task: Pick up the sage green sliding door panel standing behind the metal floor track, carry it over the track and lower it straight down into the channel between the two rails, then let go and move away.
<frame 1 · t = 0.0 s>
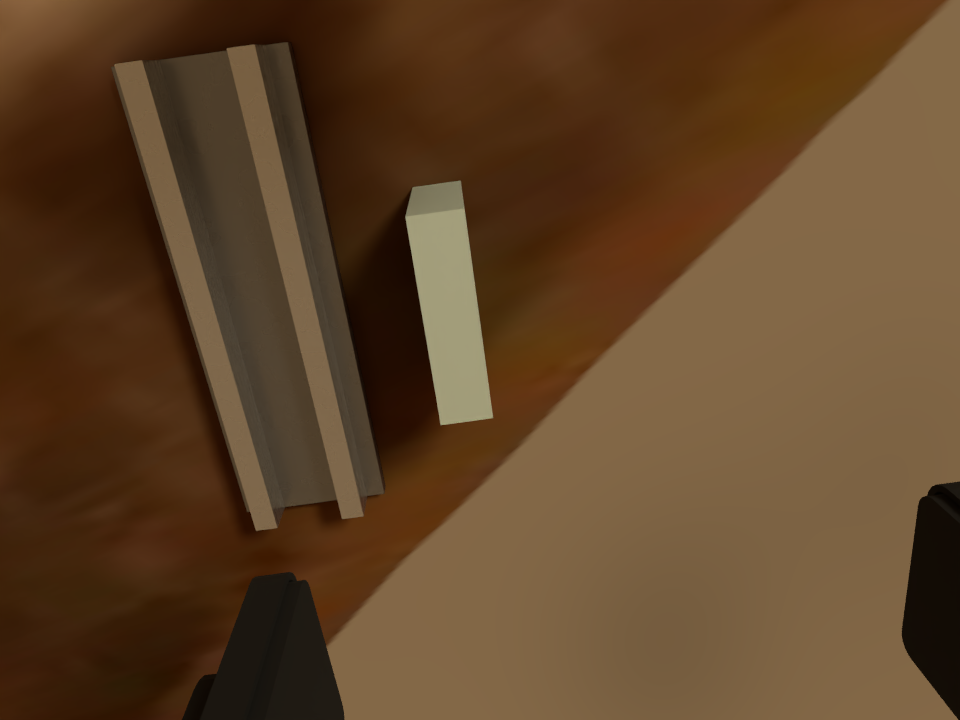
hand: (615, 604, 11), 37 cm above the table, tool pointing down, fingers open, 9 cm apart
door panel: (450, 276, 47), on the table
floor track: (268, 302, 47), on the table
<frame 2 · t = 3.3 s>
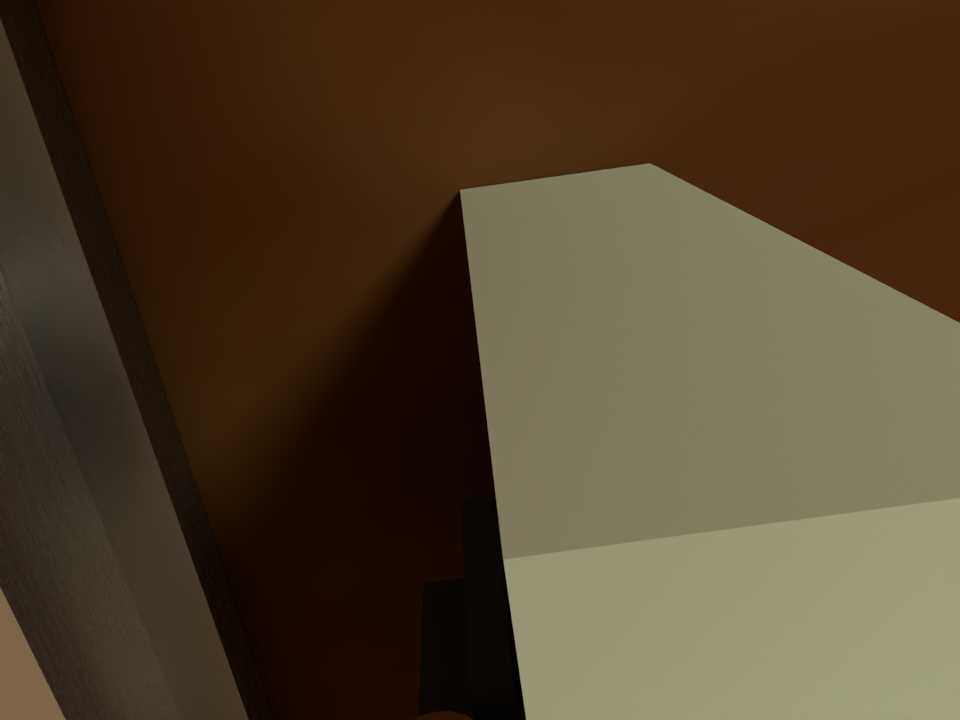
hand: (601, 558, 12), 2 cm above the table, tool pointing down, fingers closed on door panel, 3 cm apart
door panel: (582, 497, 14), on the table, touching gripper
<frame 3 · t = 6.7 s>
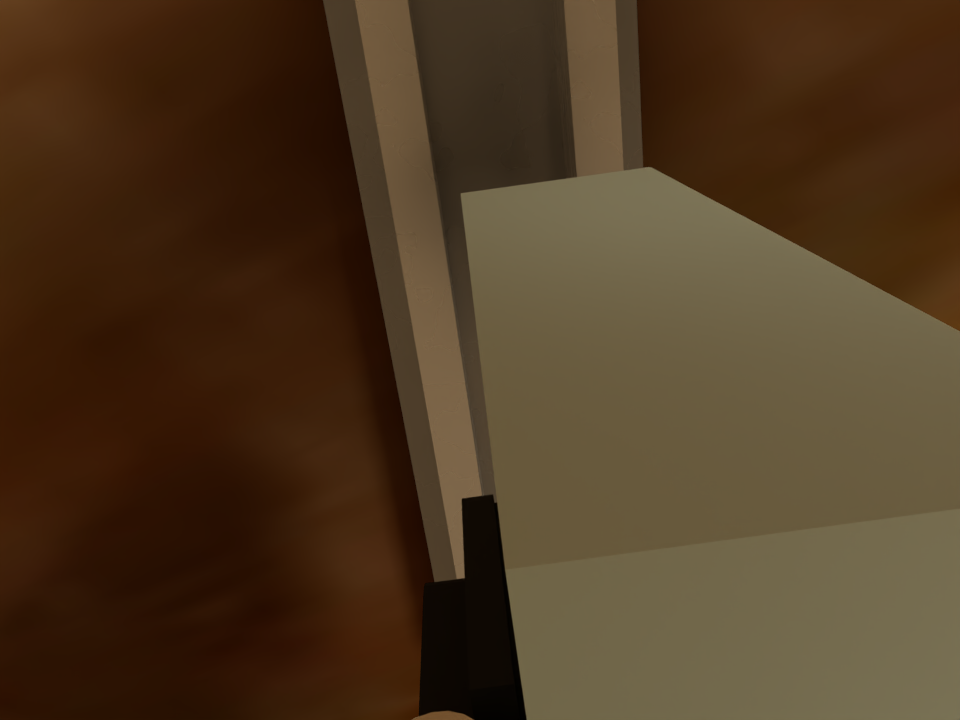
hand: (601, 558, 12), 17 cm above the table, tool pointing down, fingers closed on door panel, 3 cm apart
door panel: (583, 500, 14), point 15 cm above the table, touching gripper
floor track: (511, 275, 28), on the table
when the fingers open (4 cm above the table, at t = 9.9 s): door panel drops 1 cm, resting on floor track.
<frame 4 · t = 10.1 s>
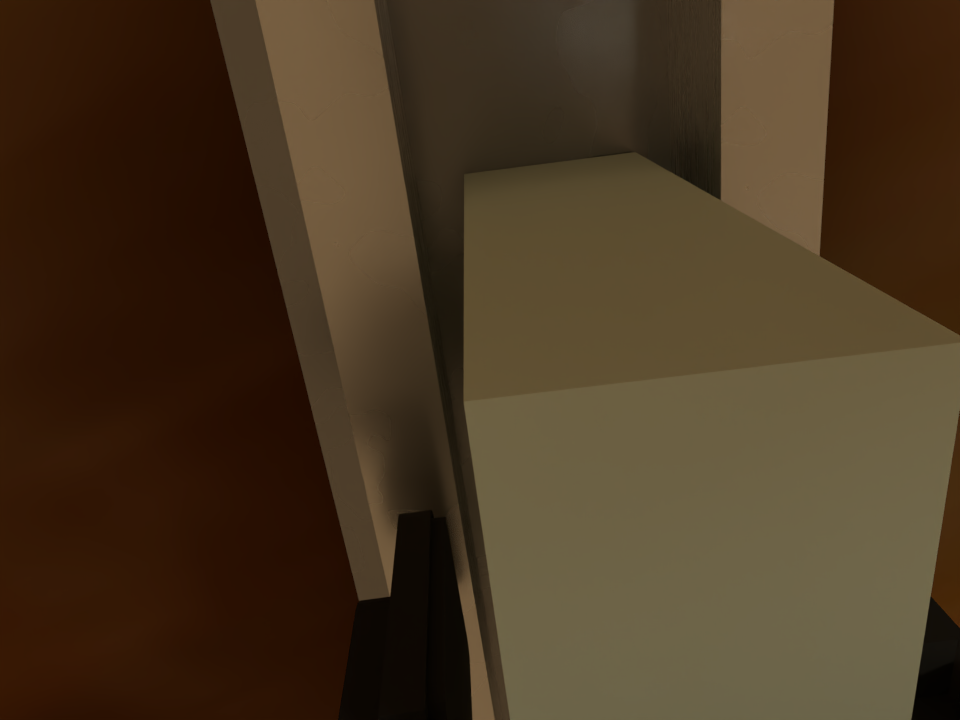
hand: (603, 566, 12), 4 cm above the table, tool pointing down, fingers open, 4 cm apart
door panel: (573, 458, 15), point 1 cm above the table, touching floor track
floor track: (562, 436, 16), on the table
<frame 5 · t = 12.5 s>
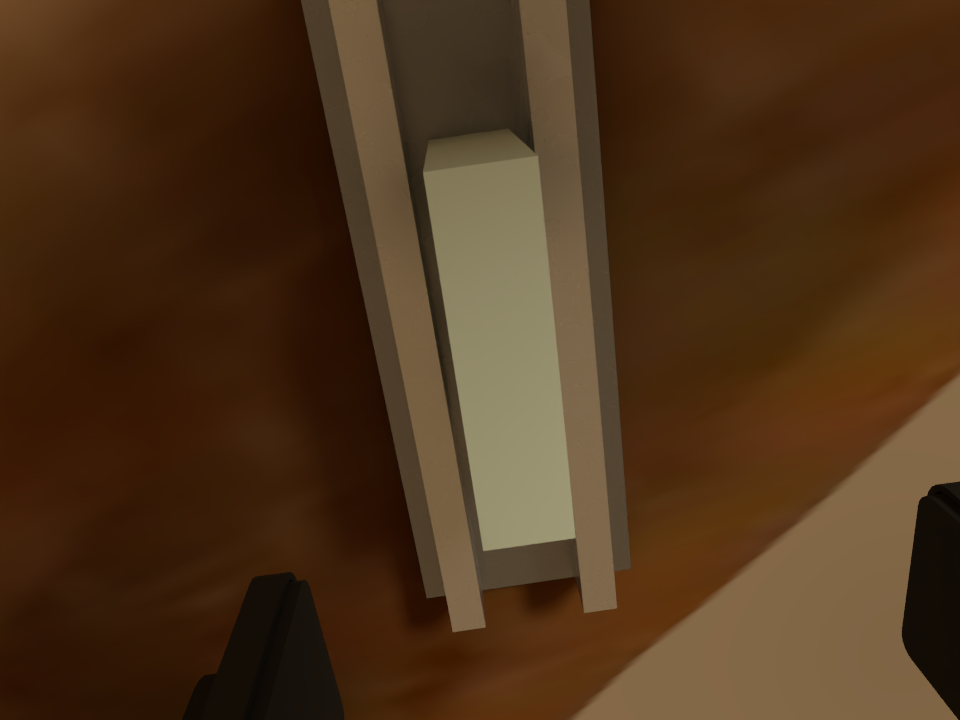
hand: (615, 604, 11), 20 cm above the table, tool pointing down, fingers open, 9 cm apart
door panel: (488, 287, 29), point 1 cm above the table, touching floor track
floor track: (485, 282, 30), on the table
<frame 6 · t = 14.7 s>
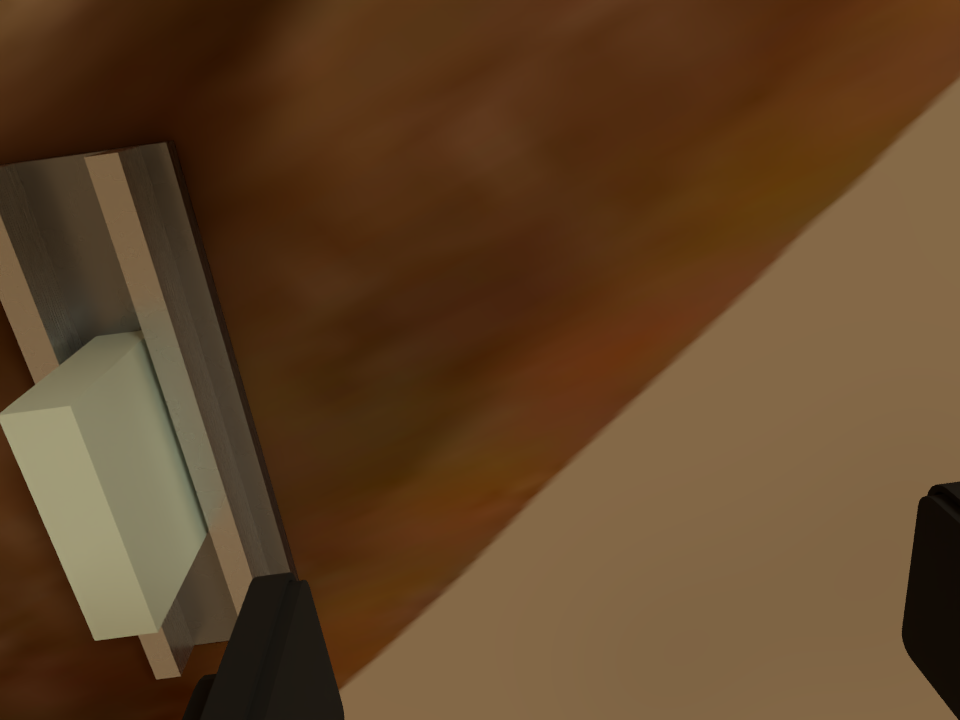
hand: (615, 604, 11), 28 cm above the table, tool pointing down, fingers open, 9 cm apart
door panel: (158, 433, 40), point 1 cm above the table, touching floor track
floor track: (164, 425, 41), on the table
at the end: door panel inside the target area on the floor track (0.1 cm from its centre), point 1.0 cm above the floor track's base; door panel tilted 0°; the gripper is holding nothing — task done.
